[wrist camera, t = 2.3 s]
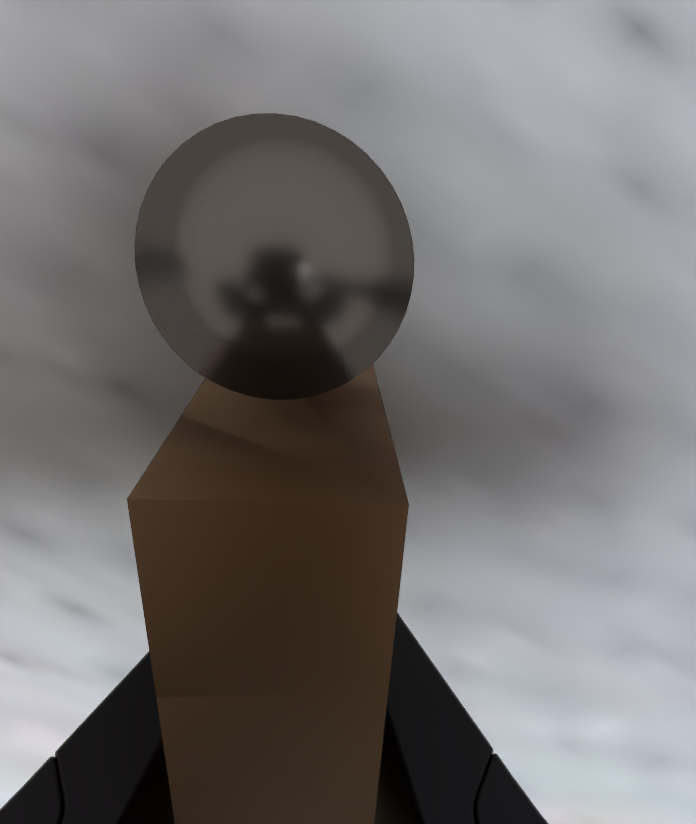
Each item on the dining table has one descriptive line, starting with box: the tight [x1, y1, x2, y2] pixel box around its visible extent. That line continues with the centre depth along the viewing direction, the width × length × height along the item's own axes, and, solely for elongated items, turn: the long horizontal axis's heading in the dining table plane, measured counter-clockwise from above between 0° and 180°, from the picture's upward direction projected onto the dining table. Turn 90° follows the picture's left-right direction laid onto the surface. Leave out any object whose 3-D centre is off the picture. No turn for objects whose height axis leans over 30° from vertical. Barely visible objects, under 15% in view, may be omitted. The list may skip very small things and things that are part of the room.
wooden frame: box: [127, 363, 409, 824], centre depth 11 cm, size 2×17×8 cm, turn 177°
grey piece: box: [135, 113, 414, 400], centre depth 11 cm, size 2×22×8 cm, turn 177°
